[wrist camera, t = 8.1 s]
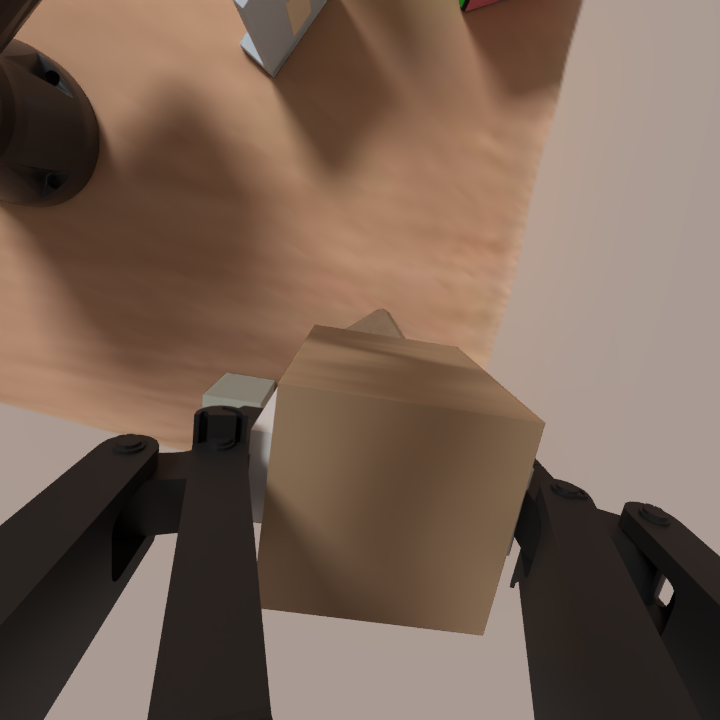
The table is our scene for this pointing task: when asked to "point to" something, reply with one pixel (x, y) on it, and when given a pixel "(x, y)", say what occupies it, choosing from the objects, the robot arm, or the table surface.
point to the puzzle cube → (474, 4)
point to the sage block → (239, 391)
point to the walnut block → (391, 483)
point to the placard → (275, 28)
